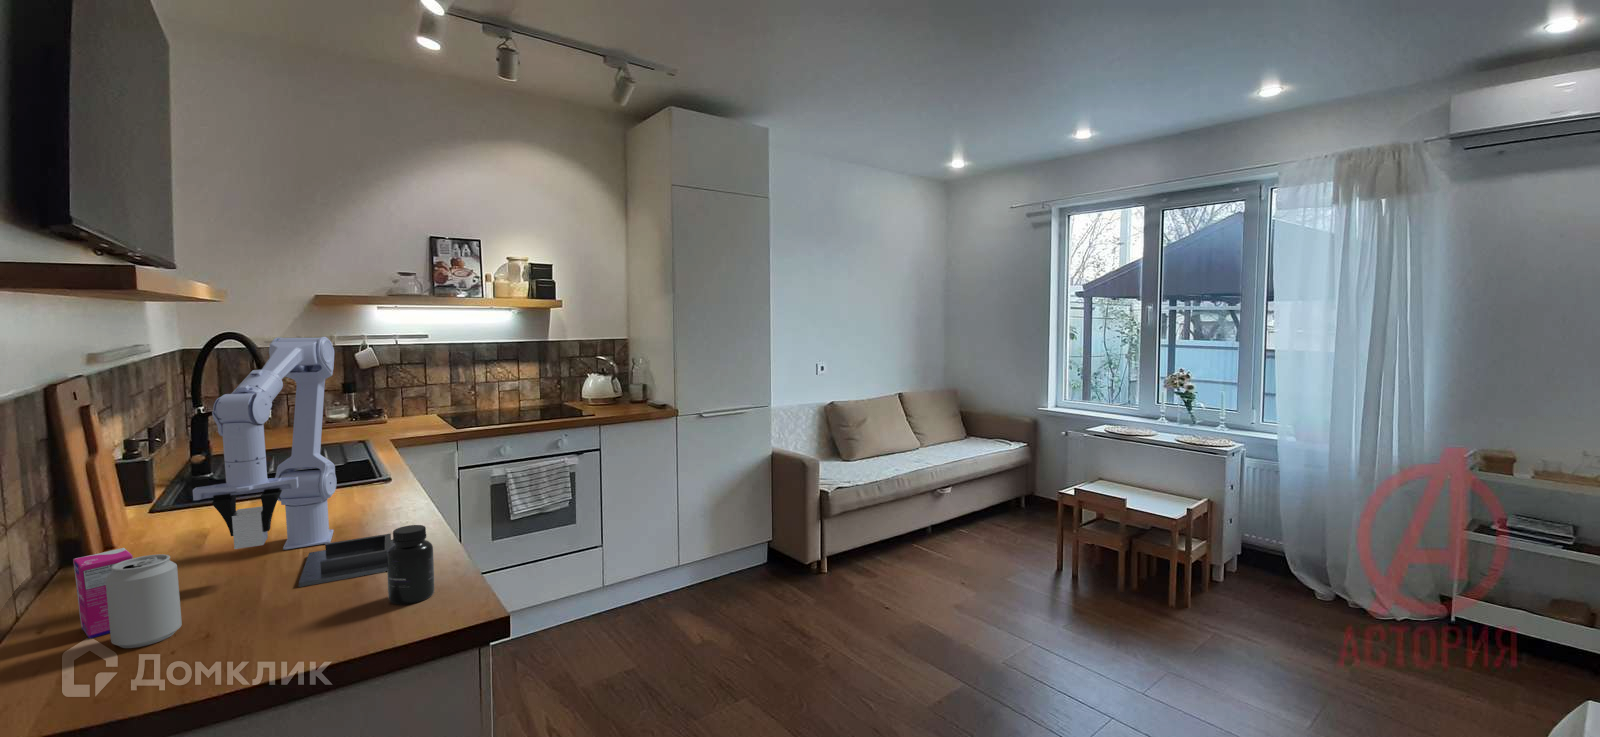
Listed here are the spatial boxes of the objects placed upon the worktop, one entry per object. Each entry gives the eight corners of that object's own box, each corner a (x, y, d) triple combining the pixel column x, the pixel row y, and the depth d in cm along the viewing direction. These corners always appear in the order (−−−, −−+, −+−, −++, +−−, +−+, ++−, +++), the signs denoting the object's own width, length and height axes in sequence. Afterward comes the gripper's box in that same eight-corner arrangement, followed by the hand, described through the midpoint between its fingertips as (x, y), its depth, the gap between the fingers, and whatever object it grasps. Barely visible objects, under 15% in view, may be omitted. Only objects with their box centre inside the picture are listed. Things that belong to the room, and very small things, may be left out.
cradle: (309, 556, 131) (308, 542, 130) (402, 541, 139) (401, 527, 139) (298, 587, 115) (297, 570, 115) (403, 568, 124) (403, 553, 124)
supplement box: (79, 630, 100) (72, 557, 99) (133, 615, 105) (127, 546, 104) (86, 640, 97) (79, 565, 96) (141, 625, 101) (135, 553, 101)
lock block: (240, 541, 120) (237, 509, 119) (267, 537, 122) (265, 505, 121) (234, 549, 115) (231, 516, 115) (263, 544, 118) (260, 512, 117)
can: (102, 643, 96) (95, 564, 95) (170, 622, 102) (163, 548, 101) (123, 655, 92) (115, 573, 91) (191, 633, 99) (185, 556, 98)
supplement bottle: (386, 609, 106) (382, 538, 106) (390, 593, 112) (386, 526, 112) (434, 600, 110) (431, 531, 109) (436, 586, 116) (432, 520, 115)
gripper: (185, 468, 110) (191, 546, 111) (292, 458, 118) (297, 531, 119) (196, 460, 116) (202, 534, 117) (297, 451, 124) (302, 521, 125)
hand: (250, 532), depth 119 cm, fingers closed on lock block, 4 cm apart
